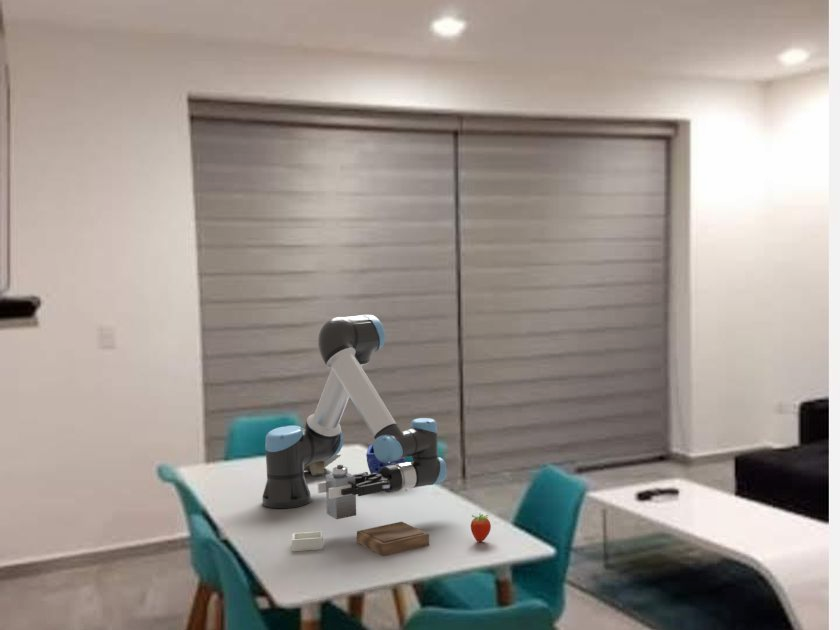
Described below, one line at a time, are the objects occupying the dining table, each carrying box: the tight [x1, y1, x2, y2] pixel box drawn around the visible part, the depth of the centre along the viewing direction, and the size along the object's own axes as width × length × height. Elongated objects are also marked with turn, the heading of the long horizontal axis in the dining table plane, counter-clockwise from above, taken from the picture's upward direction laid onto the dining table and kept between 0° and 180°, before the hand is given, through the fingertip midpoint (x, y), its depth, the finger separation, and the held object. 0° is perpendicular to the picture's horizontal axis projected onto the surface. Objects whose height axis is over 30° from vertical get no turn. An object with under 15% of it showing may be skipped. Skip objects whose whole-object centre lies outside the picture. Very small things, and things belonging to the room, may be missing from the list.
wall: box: [304, 454, 342, 477], centre depth 313 cm, size 16×9×15 cm
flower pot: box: [365, 444, 407, 474], centre depth 299 cm, size 13×13×12 cm
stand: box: [356, 521, 430, 557], centre depth 234 cm, size 14×14×3 cm
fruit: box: [470, 513, 492, 543], centre depth 233 cm, size 5×5×8 cm
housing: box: [325, 464, 357, 520], centre depth 243 cm, size 6×6×14 cm
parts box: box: [291, 530, 324, 552], centre depth 234 cm, size 8×6×3 cm
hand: (323, 490), depth 240 cm, fingers closed on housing, 6 cm apart
